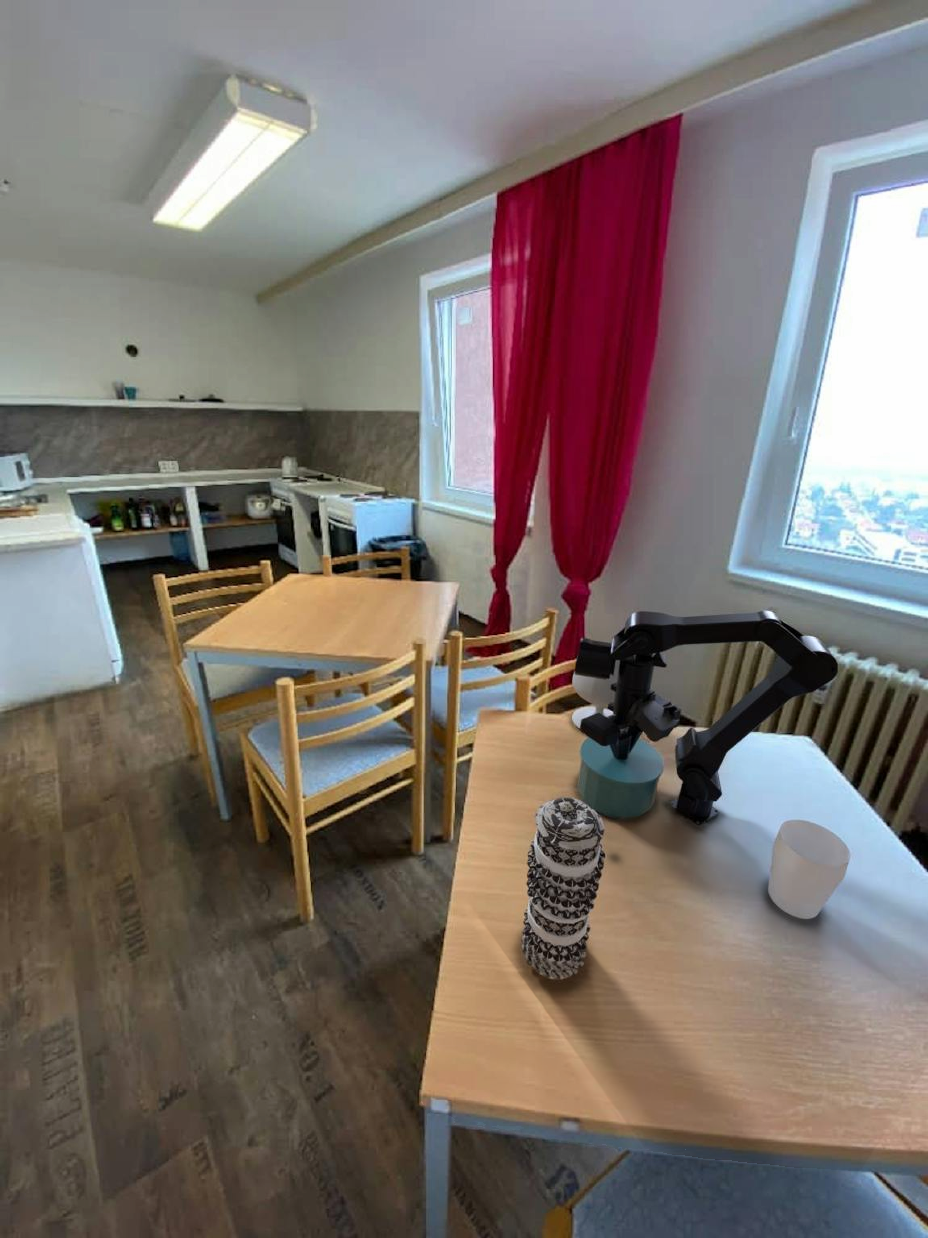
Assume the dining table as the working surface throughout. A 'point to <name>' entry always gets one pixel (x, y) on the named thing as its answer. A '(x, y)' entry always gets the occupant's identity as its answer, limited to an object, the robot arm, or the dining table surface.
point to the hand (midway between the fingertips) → (621, 755)
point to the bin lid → (623, 762)
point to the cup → (806, 867)
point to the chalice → (594, 695)
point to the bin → (615, 795)
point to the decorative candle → (562, 886)
